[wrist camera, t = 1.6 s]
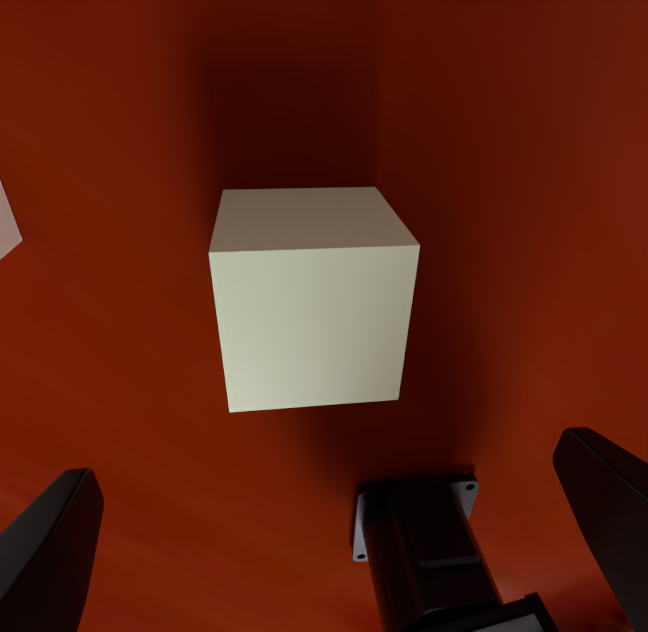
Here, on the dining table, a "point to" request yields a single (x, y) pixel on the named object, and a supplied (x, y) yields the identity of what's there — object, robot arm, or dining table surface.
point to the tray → (7, 226)
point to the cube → (311, 296)
